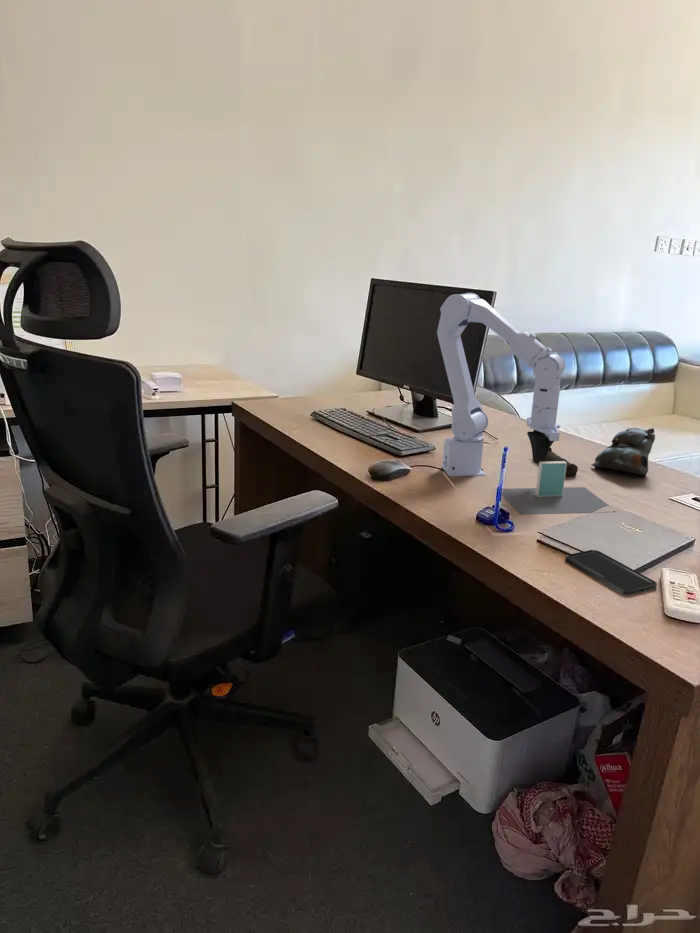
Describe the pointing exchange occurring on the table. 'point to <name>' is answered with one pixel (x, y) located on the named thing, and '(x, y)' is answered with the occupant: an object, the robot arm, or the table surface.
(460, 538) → the table surface
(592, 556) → the phone
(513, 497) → the mat
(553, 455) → the hand tool
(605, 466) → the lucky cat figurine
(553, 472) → the tile
